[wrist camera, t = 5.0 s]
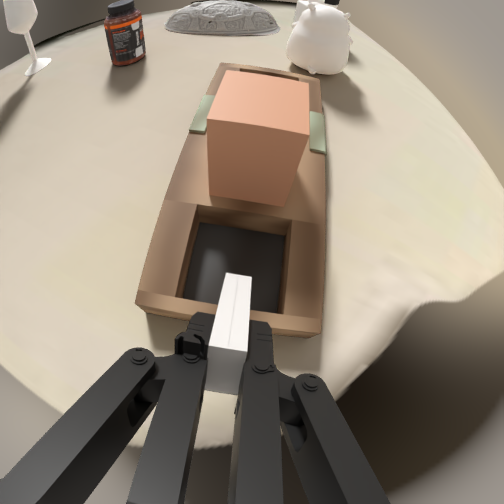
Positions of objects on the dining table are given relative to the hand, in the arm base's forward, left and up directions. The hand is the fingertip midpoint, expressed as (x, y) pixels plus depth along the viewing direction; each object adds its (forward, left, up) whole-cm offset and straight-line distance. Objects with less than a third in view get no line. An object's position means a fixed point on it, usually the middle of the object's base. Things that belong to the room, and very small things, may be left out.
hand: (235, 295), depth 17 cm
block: (0, +11, -2) cm, 12 cm away
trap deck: (0, +14, -5) cm, 15 cm away
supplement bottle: (-24, +36, -6) cm, 44 cm away
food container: (-12, +54, -6) cm, 56 cm away
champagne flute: (-49, +39, -6) cm, 63 cm away
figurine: (+6, +38, -6) cm, 39 cm away
